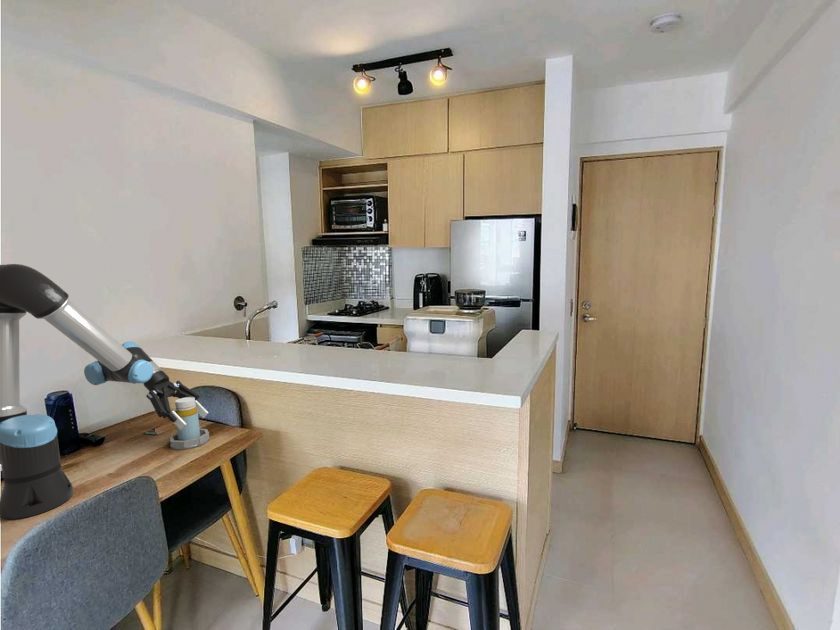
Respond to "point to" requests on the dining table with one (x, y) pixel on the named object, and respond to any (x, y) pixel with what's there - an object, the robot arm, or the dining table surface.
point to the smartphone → (150, 432)
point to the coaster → (189, 441)
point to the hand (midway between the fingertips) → (195, 421)
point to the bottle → (187, 418)
